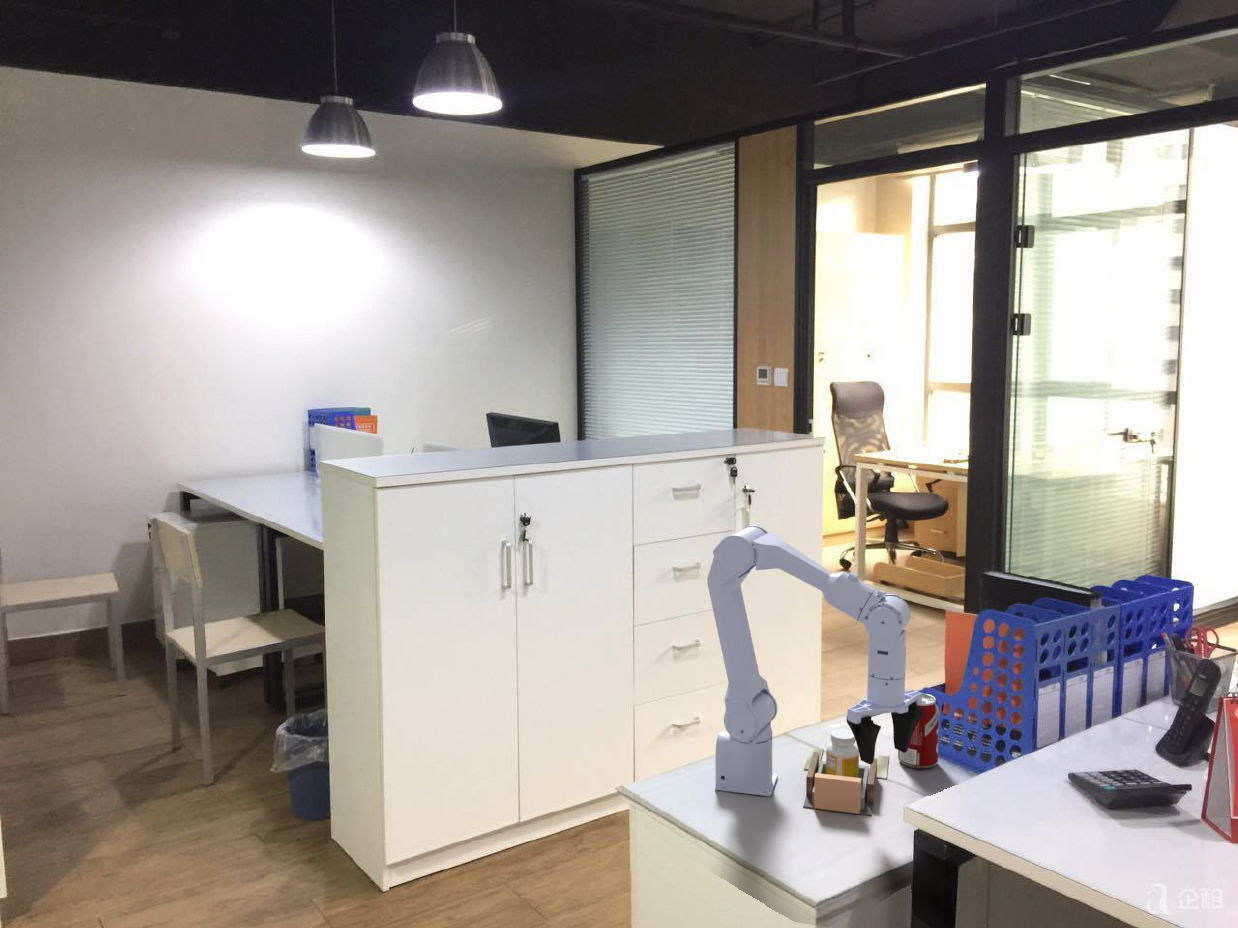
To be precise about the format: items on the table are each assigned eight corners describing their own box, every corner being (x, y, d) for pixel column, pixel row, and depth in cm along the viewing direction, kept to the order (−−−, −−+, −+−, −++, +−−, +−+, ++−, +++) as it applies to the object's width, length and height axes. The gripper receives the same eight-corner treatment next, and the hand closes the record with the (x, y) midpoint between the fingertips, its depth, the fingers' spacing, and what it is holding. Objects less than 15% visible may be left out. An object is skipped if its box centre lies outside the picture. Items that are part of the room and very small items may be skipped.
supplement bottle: (822, 791, 170) (823, 737, 169) (829, 778, 175) (830, 725, 174) (854, 797, 168) (855, 742, 167) (861, 783, 173) (862, 730, 172)
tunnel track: (793, 805, 166) (793, 785, 165) (810, 748, 187) (810, 730, 187) (882, 817, 161) (882, 796, 161) (888, 757, 183) (889, 738, 182)
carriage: (811, 807, 164) (811, 776, 164) (820, 771, 177) (820, 742, 176) (863, 814, 162) (863, 782, 161) (868, 777, 175) (869, 747, 174)
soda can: (915, 774, 176) (916, 708, 174) (890, 759, 182) (891, 695, 181) (945, 766, 179) (947, 701, 177) (920, 752, 185) (921, 688, 183)
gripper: (871, 690, 152) (869, 776, 154) (938, 671, 160) (935, 753, 162) (838, 676, 158) (836, 759, 160) (903, 659, 166) (901, 738, 168)
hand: (883, 755), depth 161 cm, fingers open, 7 cm apart
